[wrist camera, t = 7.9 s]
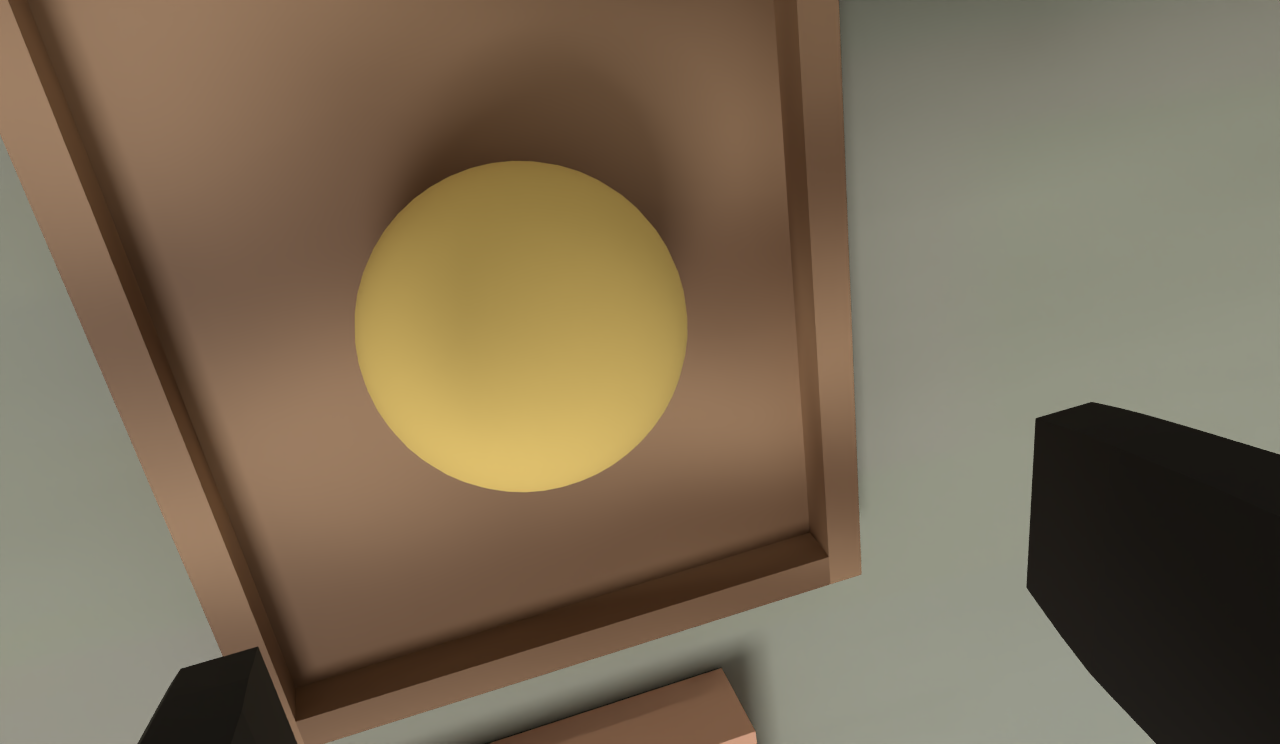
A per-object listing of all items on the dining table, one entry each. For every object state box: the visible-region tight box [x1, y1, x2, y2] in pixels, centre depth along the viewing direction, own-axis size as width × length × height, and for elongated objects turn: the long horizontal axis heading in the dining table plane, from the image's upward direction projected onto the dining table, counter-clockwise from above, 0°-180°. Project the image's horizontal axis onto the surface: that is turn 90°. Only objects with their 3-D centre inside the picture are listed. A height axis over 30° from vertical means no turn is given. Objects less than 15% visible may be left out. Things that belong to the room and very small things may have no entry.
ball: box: [355, 161, 687, 492], centre depth 15 cm, size 5×5×5 cm
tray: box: [0, 0, 861, 744], centre depth 17 cm, size 16×12×2 cm
